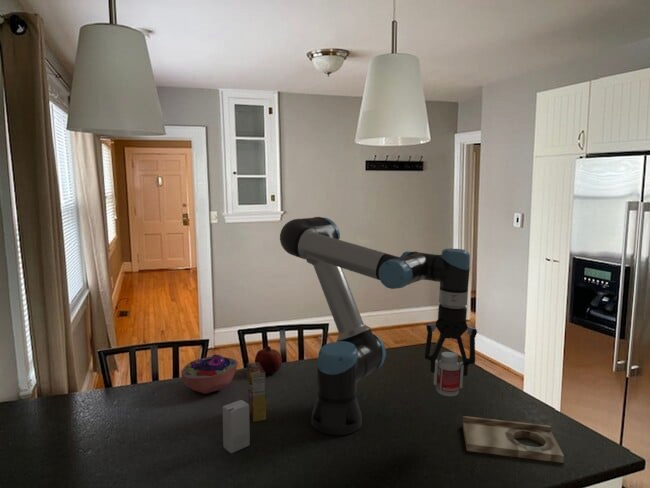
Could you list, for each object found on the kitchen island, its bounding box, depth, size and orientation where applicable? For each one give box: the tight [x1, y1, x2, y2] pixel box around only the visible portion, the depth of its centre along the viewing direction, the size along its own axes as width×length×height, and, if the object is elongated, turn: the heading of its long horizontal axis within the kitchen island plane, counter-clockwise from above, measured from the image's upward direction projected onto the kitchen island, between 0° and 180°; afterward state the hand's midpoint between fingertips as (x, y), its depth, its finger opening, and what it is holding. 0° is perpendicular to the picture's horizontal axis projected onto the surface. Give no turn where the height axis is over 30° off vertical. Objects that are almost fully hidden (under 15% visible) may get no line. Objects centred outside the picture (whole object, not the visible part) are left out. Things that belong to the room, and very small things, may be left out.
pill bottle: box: [435, 351, 460, 397], centre depth 127 cm, size 6×6×11 cm
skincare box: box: [222, 399, 251, 454], centre depth 122 cm, size 6×4×12 cm
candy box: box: [246, 361, 267, 423], centre depth 139 cm, size 9×4×15 cm, turn 20°
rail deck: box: [462, 415, 565, 464], centre depth 126 cm, size 24×13×3 cm, turn 78°
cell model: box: [180, 354, 239, 395], centre depth 156 cm, size 17×20×11 cm
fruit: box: [254, 345, 283, 375], centre depth 171 cm, size 11×10×10 cm
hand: (447, 384), depth 128 cm, fingers closed on pill bottle, 6 cm apart
